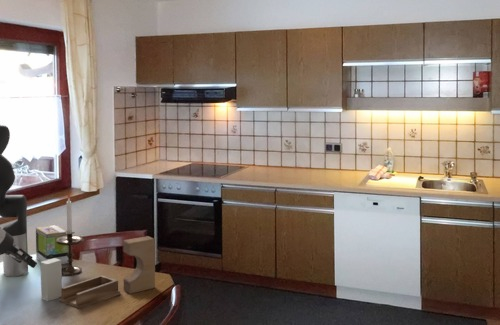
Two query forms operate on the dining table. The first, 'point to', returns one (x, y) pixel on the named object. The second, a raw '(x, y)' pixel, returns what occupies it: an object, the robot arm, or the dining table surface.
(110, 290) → the tray
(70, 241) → the candlestick
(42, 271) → the white rectangular block
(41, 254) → the tea box
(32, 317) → the dining table surface
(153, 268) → the decorative block
